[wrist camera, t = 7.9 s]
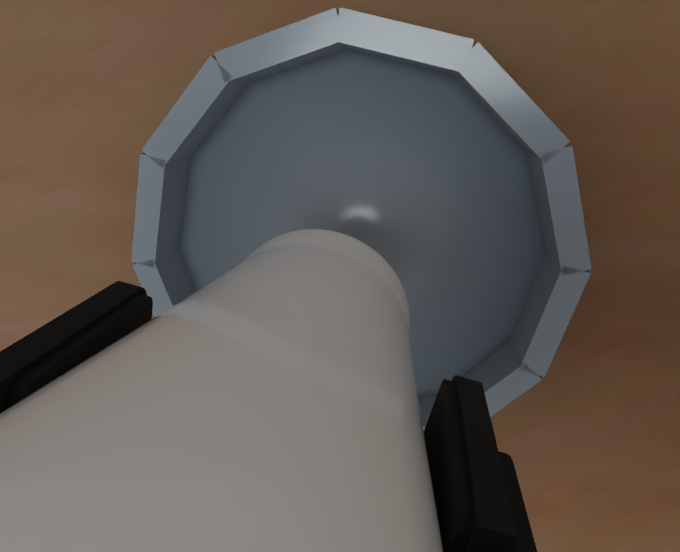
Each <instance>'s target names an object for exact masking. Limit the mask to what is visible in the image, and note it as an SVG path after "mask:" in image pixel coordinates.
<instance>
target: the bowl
mask: <svg viewBox="0 0 680 552" xmlns="http://www.w3.org/2000/svg"><path fill="white" fill-rule="evenodd" d="M473 42H474V39H470V38H466V37H462V36H458V35H454V34H449V33H445V32H441V31H437V30H433V29H429V28H424V27H420V26H416V25H412V24H408V23H404V22H399V21H395V20H391V19H387V18H383V17H378V16H374V15H370V14H366V13H362V12H358V11H353V10H349V9H345V8H341V7H340V10H339V11H338V10H337V9H336V8H333V9H330V10H328V11H325V12H322V13H320V14H317V15H314V16H311V17H309V18H306V19H303V20H301V21H298V22H295V23H293V24H290V25H287V26H285V27H282V28H279V29H276V30H274V31H271V32H268V33H266V34H263V35H260V36H258V37H255V38H252V39H250V40H247V41H244V42H241V43H239V44H236V45H233V46H231V47H228V48H225V49H223V50H220V51H217V52H215V53H214V54H215V56H212V55H211V56H210V57H209V58H208V60H207V61H206V62H205V64H204V65H203V67H202V68H201V69H200V71H199V72H198V73H197V75H196V76H195V77H194V79H193V80H192V82H191V83H190V84H189V86H188V87H187V88H186V90H185V91H184V93H183V94H182V95H181V97H180V98H179V99H178V101H177V102H176V103H175V105H174V106H173V108H172V109H171V110H170V112H169V113H168V114H167V116H166V117H165V119H164V120H163V121H162V123H161V124H160V125H159V127H158V128H157V130H156V131H155V132H154V134H153V135H152V136H151V138H150V139H149V140H148V142H147V143H146V145H145V146H144V147H143V149H142V151H143V152H144V153H141V154H140V162H139V174H138V186H137V198H136V211H135V223H134V235H133V247H132V259H131V261H132V262H135V263H134V264H133V265H132V266H133V268H134V271H135V273H136V275H137V278H138V280H139V282H140V285H141V287H142V288H145V290H146V292H147V296H150V297H152V300H153V308H152V312H153V314H154V317H157V316H158V315H160V314H161V313H163V312H165V311H166V310H168V309H169V308H171V307H172V306H174V305H176V304H177V303H179V302H180V301H182V300H184V299H185V298H187V297H188V296H190V295H192V294H193V293H195V292H196V291H198V290H199V289H201V288H203V287H204V286H206V285H207V284H209V283H210V282H212V281H214V280H215V279H217V278H218V277H220V276H221V275H223V274H224V273H226V272H227V271H229V270H230V269H232V268H233V267H235V266H237V265H238V264H239V263H240V262H242V261H243V260H244V259H245V258H246V257H247V256H248V255H249V254H250V253H251V252H253V251H254V250H255V249H256V248H258V247H259V246H260V245H262V244H264V243H265V242H267V241H268V240H270V239H272V238H274V237H276V236H279V235H282V234H284V233H288V232H292V231H296V230H302V229H324V230H332V231H336V232H340V233H343V234H346V235H349V236H351V237H354V238H356V239H358V240H360V241H362V242H363V243H365V244H367V245H368V246H370V247H371V248H372V249H374V250H375V251H376V252H377V253H379V254H380V255H381V256H382V257H383V258H384V259H385V260H386V261H387V262H388V263H389V265H390V266H391V267H392V269H393V270H394V271H395V273H396V274H397V276H398V278H399V280H400V282H401V284H402V286H403V288H404V290H405V293H406V296H407V300H408V304H409V310H410V321H411V335H410V343H411V351H412V358H413V365H414V372H415V378H416V385H417V392H418V398H419V405H420V411H421V418H422V424H423V430H424V429H425V427H426V424H427V421H428V418H429V416H430V413H431V410H432V407H433V405H434V402H435V399H436V396H437V393H438V391H439V388H440V385H441V383H442V381H443V379H447V380H450V381H451V380H452V378H453V377H454V376H455V375H457V376H461V377H464V378H468V379H471V380H475V381H479V382H482V385H483V389H484V393H485V397H486V402H487V406H488V410H489V414H490V417H491V416H492V415H494V414H495V413H497V412H498V411H499V410H501V409H502V408H504V407H505V406H506V405H508V404H509V403H511V402H512V401H513V400H515V399H516V398H518V397H519V396H521V395H522V394H523V393H525V392H526V391H528V390H529V389H530V388H532V387H533V386H535V385H536V384H537V383H539V382H540V381H542V378H541V376H542V377H545V375H546V373H547V371H548V369H549V366H550V364H551V362H552V360H553V357H554V355H555V353H556V351H557V348H558V346H559V344H560V342H561V340H562V337H563V335H564V333H565V331H566V328H567V326H568V324H569V322H570V319H571V317H572V315H573V313H574V311H575V308H576V306H577V304H578V302H579V299H580V297H581V295H582V293H583V290H584V288H585V286H586V284H587V282H588V279H589V277H590V275H591V273H590V272H589V271H588V270H591V269H592V268H591V261H590V255H589V248H588V242H587V236H586V229H585V223H584V216H583V210H582V204H581V197H580V191H579V184H578V178H577V172H576V165H575V159H574V152H573V146H572V145H569V144H568V143H569V142H570V140H569V139H568V138H567V137H566V136H565V135H564V134H563V133H562V132H561V131H560V130H559V129H558V127H557V126H556V125H555V124H554V123H553V122H552V121H551V120H550V119H549V118H548V117H547V116H546V115H545V113H544V112H543V111H542V110H541V109H540V108H539V107H538V106H537V105H536V104H535V103H534V102H533V100H532V99H531V98H530V97H529V96H528V95H527V94H526V93H525V92H524V91H523V90H522V89H521V88H520V86H519V85H518V84H517V83H516V82H515V81H514V80H513V79H512V78H511V77H510V76H509V75H508V73H507V72H506V71H505V70H504V69H503V68H502V67H501V66H500V65H499V64H498V63H497V62H496V60H495V59H494V58H493V57H492V56H491V55H490V54H489V53H488V52H487V51H486V50H485V49H484V48H483V46H482V45H481V44H480V43H479V42H478V43H477V44H476V45H475V46H474V47H473V48H472V45H473ZM471 48H472V49H471Z"/></svg>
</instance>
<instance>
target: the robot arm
mask: <svg viewBox="0 0 680 552" xmlns="http://www.w3.org/2000/svg"><path fill="white" fill-rule="evenodd" d="M152 308H153V300H152V297H150V296H147V292H146V290H145V288H142V287H139V286H135V285H132V284H128V283H124V282H121V281H118V282H115V283H113V284H112V285H110V286H108V287H107V288H105V289H103V290H102V291H100V292H99V293H97V294H95V295H94V296H92V297H90V298H89V299H87V300H85V301H84V302H82V303H80V304H79V305H77V306H75V307H74V308H72V309H70V310H69V311H67V312H65V313H64V314H62V315H60V316H59V317H57V318H55V319H54V320H52V321H50V322H49V323H47V324H45V325H44V326H42V327H40V328H39V329H37V330H35V331H34V332H32V333H30V334H29V335H27V336H25V337H24V338H22V339H20V340H19V341H17V342H15V343H14V344H12V345H11V346H9V347H7V348H6V349H4V350H2V351H1V352H0V413H2V412H4V411H5V410H7V409H8V408H10V407H12V406H13V405H15V404H16V403H18V402H20V401H21V400H23V399H24V398H26V397H28V396H29V395H31V394H32V393H34V392H36V391H37V390H39V389H41V388H42V387H44V386H45V385H47V384H49V383H50V382H52V381H53V380H55V379H57V378H58V377H60V376H61V375H63V374H65V373H66V372H68V371H70V370H71V369H73V368H74V367H76V366H78V365H79V364H81V363H82V362H84V361H86V360H87V359H89V358H90V357H92V356H94V355H95V354H97V353H99V352H100V351H102V350H103V349H105V348H107V347H108V346H110V345H111V344H113V343H115V342H116V341H118V340H120V339H121V338H123V337H124V336H126V335H128V334H129V333H131V332H132V331H134V330H136V329H137V328H139V327H141V326H142V325H144V324H145V323H147V322H149V321H150V320H151V318H152ZM424 436H425V443H426V449H427V455H428V461H429V468H430V474H431V480H432V486H433V492H434V498H435V504H436V510H437V516H438V522H439V529H440V535H441V541H442V547H443V552H537V549H536V546H535V542H534V538H533V535H532V531H531V527H530V523H529V520H528V516H527V512H526V509H525V505H524V501H523V497H522V494H521V490H520V486H519V482H518V479H517V475H516V471H515V468H514V464H513V461H512V459H511V456H509V455H508V454H506V453H502V452H499V451H498V448H497V444H496V440H495V436H494V431H493V427H492V423H491V419H490V414H489V410H488V406H487V402H486V397H485V393H484V389H483V385H482V382H479V381H475V380H471V379H468V378H464V377H461V376H457V375H455V376H454V377H453V378H452V380H451V381H450V380H447V379H443V381H442V383H441V385H440V388H439V391H438V393H437V396H436V399H435V402H434V405H433V407H432V410H431V413H430V416H429V418H428V421H427V424H426V427H425V429H424Z"/></svg>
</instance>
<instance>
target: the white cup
mask: <svg viewBox="0 0 680 552" xmlns="http://www.w3.org/2000/svg"><path fill="white" fill-rule="evenodd" d="M410 335H411V321H410V310H409V304H408V300H407V296H406V293H405V290H404V288H403V286H402V284H401V282H400V280H399V278H398V276H397V274H396V273H395V271H394V270H393V269H392V267H391V266H390V265H389V263H388V262H387V261H386V260H385V259H384V258H383V257H382V256H381V255H380V254H379V253H377V252H376V251H375V250H374V249H372V248H371V247H370V246H368V245H367V244H365V243H363V242H362V241H360V240H358V239H356V238H354V237H351V236H349V235H346V234H343V233H340V232H336V231H332V230H324V229H302V230H296V231H292V232H288V233H284V234H282V235H279V236H276V237H274V238H272V239H270V240H268V241H267V242H265V243H264V244H262V245H260V246H259V247H258V248H256V249H255V250H254V251H253V252H251V253H250V254H249V255H248V256H247V257H246V258H245V259H244V260H243V261H242V262H240V263H239V264H238V265H237V266H235V267H233V268H232V269H230V270H229V271H227V272H226V273H224V274H223V275H221V276H220V277H218V278H217V279H215V280H214V281H212V282H210V283H209V284H207V285H206V286H204V287H203V288H201V289H199V290H198V291H196V292H195V293H193V294H192V295H190V296H188V297H187V298H185V299H184V300H182V301H180V302H179V303H177V304H176V305H174V306H172V307H171V308H169V309H168V310H166V311H165V312H163V313H161V314H160V315H158V316H157V317H155V318H153V319H152V320H150V321H149V322H147V323H145V324H144V325H142V326H141V327H139V328H137V329H136V330H134V331H132V332H131V333H129V334H128V335H126V336H124V337H123V338H121V339H120V340H118V341H116V342H115V343H113V344H111V345H110V346H108V347H107V348H105V349H103V350H102V351H100V352H99V353H97V354H95V355H94V356H92V357H90V358H89V359H87V360H86V361H84V362H82V363H81V364H79V365H78V366H76V367H74V368H73V369H71V370H70V371H68V372H66V373H65V374H63V375H61V376H60V377H58V378H57V379H55V380H53V381H52V382H50V383H49V384H47V385H45V386H44V387H42V388H41V389H39V390H37V391H36V392H34V393H32V394H31V395H29V396H28V397H26V398H24V399H23V400H21V401H20V402H18V403H16V404H15V405H13V406H12V407H10V408H8V409H7V410H5V411H4V412H2V413H0V552H443V547H442V541H441V535H440V529H439V522H438V516H437V510H436V504H435V498H434V492H433V486H432V480H431V474H430V468H429V461H428V455H427V449H426V443H425V436H424V430H423V424H422V418H421V411H420V405H419V398H418V392H417V385H416V378H415V372H414V365H413V358H412V351H411V343H410Z"/></svg>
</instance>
